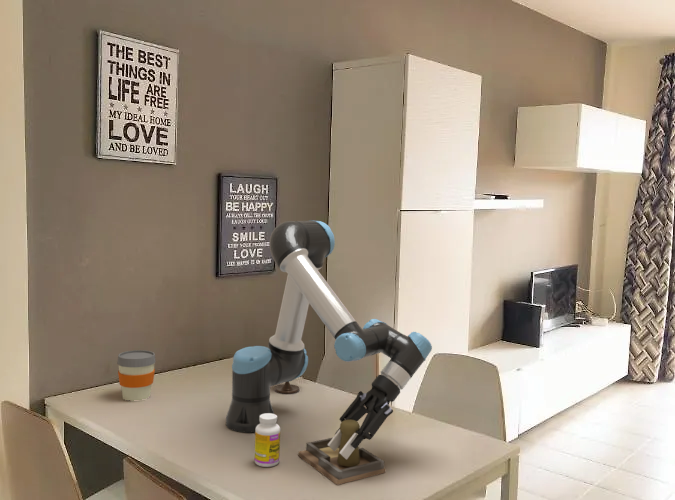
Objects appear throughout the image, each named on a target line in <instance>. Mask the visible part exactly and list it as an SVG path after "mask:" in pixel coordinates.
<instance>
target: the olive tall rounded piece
mask: <svg viewBox="0 0 675 500" xmlns="http://www.w3.org/2000/svg"><path fill="white" fill-rule="evenodd" d="M360 427H361V426H360V423H359V422H358V421H355V420H344V421H342V422H341V421H340V425H339V428H340V431H341V433H342V435H341V441H340V447H339V452H340V451H341V450H342V448H343V447H344V446H345V444H346V443H347V442H348V441H349V439H350V438H351V437H352V435H353V434H354V433H356V430H357V431H359V429H360ZM337 462H338V463H339V464H340V465H343V466H356V465H358V464H359V463H360V458H359V446H358V447H357V448H356V449H354V451H353V452H352V453H351V455H350V456H349V457H348V459H347V460H346V459H345V458H344V457H343V456H342V455H341V454H340V453H338V459H337Z"/></svg>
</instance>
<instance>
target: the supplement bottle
mask: <svg viewBox="0 0 675 500" xmlns="http://www.w3.org/2000/svg"><path fill="white" fill-rule="evenodd" d="M259 421H260V424H258V425H257V426H256V429H255V432H254V434H255V435H254V436H255V437H254V463H255V465H257V466H259V467H263V468H271V467H275V466H277V465H278V464H279V462H280V455H281V454H280V453H281V452H280V450H281V449H280V448H281V427H280V425H279V424H278V423H277V421H278V415H277V414H275V413H274V414H272V413H265V414H261V415H260V418H259Z"/></svg>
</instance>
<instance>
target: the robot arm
mask: <svg viewBox="0 0 675 500" xmlns="http://www.w3.org/2000/svg"><path fill="white" fill-rule="evenodd" d="M335 240H336V238H335V235H334V233H333V231H332V229H331V227H330V226H329V225H328V224H327V223H325V222H323V221H320V220H313V219H309V220H295V221H294V220H287V221H283V222H281V223H279V224H278V225H277V226H276V227H275V228H274V229H273V230H272V232H271V234H270V237H269V251H270V255H271V257H272V259H273V261H274V263H275V265H276V266H277V267H278V269H279V270H280V271H281V272H283V273H286V274H287V276H286V282H285V286H284V291H283V296H282V300H281V304H280V310H279V314H278V320H277V322H276V323H277V324H276V329H275V333H274V335H271V336H270V337H269V339H268V340H269V341H268V344H267V346H263V345H253V346H246V347H243V348H241V349H239V350H238V349H237V351H236V352H235V353H234V355H233V358H232V365H231V368H232V371H231V372H232V373H231V374H232V375H231V377H232V382H231V383H232V385H231V386H232V387H231V389H232V390H231V391H232V392H231V402H230V404H229V408H228V410H227V412H226V417H225V426H226V428H228V429H229V430H232V431H234V432H239V433H255V429H256V426H257V425H258V424H260V421H259V418H260V415H261V414H265V413H272V414H275V412H274V408H273V406H272V402H271V387H275V386H277V385H281V384H285V382H288V381H289V382H292V381H294V380H296V379H298V378H300V377H301V376H302V375H304V373H305V371H306V370H307V369H308V368H307V367H308V364H309V356H308V355H307V354H308V353H307V349H305V343H304V341H303V340H302V338H303V335H304V328H305V325H306V324H305V323H306V320H307V317H308V310H309V307H310V306H311V308H312V309H313V310H314V313H316V315H317V316H318V317H319V319H320V320H321V322H322V323H323V324H324V326H325V327H326V328H327V330H328V331H329V333H330V334H331V335H332V336H333V338H334V339H335V341H334V344H333V345H334V349H335V354H336V356H337V357H338V359H340V360H341V361H344V362H348V363H349V362H355V361H360V360H361V359H364V358H367V357H370V356H371V357H372V356H375V355H377V354H380V353H381V354H383V355H384V356H386V357H388V358H390V360H388V362H387V363H386V364H385V366H384V367H382V369H381V371H380V374H378V375H377V376H376V377H375V378H374V380H373V381H372V382H371V388H370V390H368V391H367V392H366V393H364V392H363V391H361V390H360V391H359V392H358V393H357V395H356V397H355V398H354V400H353V401H352V402H351V403H350V405H349V406H348V407H347V409H346V410H345V411H344V412H343V414H341V416H340V418H339V421H340V423H341V422H342V421H344V420H355V421H357V422H358V421H359V420H361V419H362V418H363V417H364V416H365V415H366V416H365V418H364V419H363V421H362V423H361V426H360V429H359V431H357V430H356V433H354V434H353V435H352V437H351V438H350V439H349V441H348V442H347V443H346V444H345V446H344V447H343V448H342V450H341V451H340V452H339V453H340V454H341V455H342V456H343V457H344V458H345V459H346V460H347V459H348V457H349V456H350V455H351V453H352V452H353V451H354V449H356V448H357V447H359V446H360V445H361V444H362V442H363V441H364V440H369V441H371V440H373V438H374V436H375V435H376V433H377V432H378V431H379V429H380V428H381V427H382V425H383V424H384V422H385V421H386V419H387V418H388V417H389V416H390V415H392V414H393V413H394V410H393V408H392V407H390V403H391V402H392V403H393V402H394V401H395V400H396V399H398V398H397V397H398V396H399V395H400V394H401V390H404V388H405V387H406V385H408V382H410V380H411V379H412V378H413V376H414V374H416V372H417V371H418V369H419V368H420V367H421V366H422V364H423V363H424V362H425V361H427V360H426V359H427V358H428V356H429V355H430V354H431V352H432V350H433V345H432V343H431V342H430V340H429V339H427V337H425V336H424V335H423V334H421V333H420V332H417V331H411V332H410V333H409V334H408V335H405V334H403V333H402V332H400V331H398V330H397V329H395V328H393V327H392V326H390V325H389V324H387V322H385V321H381V320H379V319H377V318H372V319H370V320H369V321H367V322H366V323H365V324H364V325H363V327H361V326H360V324H359V323H358V322H357V320H356V319H355V318H354V316H353V315H352V314H351V313H350V311H349V309H348V308H347V307H346V305H345V304H343V302H342V301H341V299H340V298H339V296H338V295H337V294H336V292H335V291H334V290H333V288H332V287H331V286H330V284H329V283H328V281H326V279H325V278H324V276H323V275H322V273H320V271H319V270H320V269H322V268H323V266H324V261H325V258H327V257H328V256H329V255H331V254H332V253H333V251H334V249H335V245H336V244H335V242H336V241H335ZM341 435H342V433H341V431H340V427H339V428H338V429H337V430H336V432H335V433H334V436H333V437H331V438H332V439H331V441H330V442H329V443H328V446H329V447H330V448H331V449H332V450H333V451H335V450H336V449H337V448H338V447H339V445H340V441H341Z"/></svg>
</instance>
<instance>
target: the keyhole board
mask: <svg viewBox="0 0 675 500" xmlns="http://www.w3.org/2000/svg"><path fill="white" fill-rule="evenodd" d="M332 438H333V437H328V438H324V439H318V440H313V441H309V442H306V447H305V448H306V449H304V450H300V451H298V454H297V455H298V457H299V458H301V460H303V461H304V462H305V463H307V464H308V465H309V466H311V467H312V468H314V469H315V470H316V471H318V472H319V473H321V474H322V475H323V476H324V477H326V478H327V479H328V480H330V481H331V482H332V483H334V484H335V485H336V486H338V485H342V484H346V483H350V482H354V481H358V480H362V479H366V478H370V477H373V476H377V475H381V474H385V473H386V467H385V461H384V460H383V459H382V458H380V457H379V456H376V455H375V454H374V453H372V452H370V451H369V450H367V449H366V448H363V447H360V448H359V458H360V463H359V464H358V465H356V466H343V465H340V464H339V463H338V462H337V459H338V453H339V447H340V445H339V447H338V448H337V449H336V450H335V451H333V450H332V449H331V448H330V447H329V446H328V443H329V442H330V441H331V439H332Z"/></svg>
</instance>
